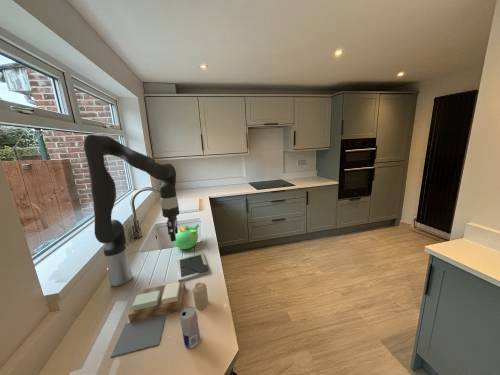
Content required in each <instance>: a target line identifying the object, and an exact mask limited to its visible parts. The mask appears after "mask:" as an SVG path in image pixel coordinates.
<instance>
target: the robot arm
mask: <svg viewBox="0 0 500 375" xmlns="http://www.w3.org/2000/svg"><path fill="white" fill-rule="evenodd" d="M82 142H83V143H82V145H83V146H82V147H83V151H84V155H85V160H86V162H87V168H88V171H89V172H88V174H89V179H90V188H91V197H92V201H93V203H92V204H93V213H94V215H93V216H94V237H95V238H96V240H97V241H98V242H99V243H101V244H104V245H105V246H104V248H103V254H104V258H105V262H106V265H107V266H106V267H107V268H106V274H107V278H108V281H109V282H108V283H109V286H112V287H121V286H123V285H126V284H127V283H129V282H130V281H131V280H132V279H133V273H132V268H131V265H130V260H129V256H128V253H127V249H126V248H127V247H126V243H127V242H126V241H127V238H126V233H125V228H124V226H123V224H122V222H121V221H119V220H117V219H112V213H113V209H114V207H115V203H116V199H117V191H116V190H117V188H116V183H115V180H114V179H113V177H112V176H111V174H110V173H109V172H108V169H107V168H106V164H105V158H104V156H107V155H108V156H113V157H117V158H120V159H122V160H123V161H125V162H126V163H127V164H128V165H129V166H131V167H132V168H133V167H134V168H135V169H138V170H140V171H142V172H145V173H146V174H148V175H149V176H151V177H152V178H154V179H156V180H158V181H161V182H162V183H161V185H160V186H159V189H158V190H159V197H160V206H161V212H162V217H164V218H167V221H166V227H167V232H168V233H167V234H168V236H169V239H170V242H174V241H176V236H175V234H177V233H178V230H179V228H178V216H179V214H180V206H179V201H178V197H177V191H176V185H177V184H176V182H177V172H176V169H175V167H174V165H173V164H171V163H164V164H163V163H162V164H161V163H158V162H156V160H155V159H154V158H152V157H150V156H148V155H146V154H143V153H140V152H138V151H135V150H133V149H131V148H130V147H128V146H126V145H124V144H122V143H120V142H119V141H117V140H116V139H114V138H112V137H111V136H109V135H105V134H98V133H97V134H91V133H90V134H87V135H85V137H84V138H83V141H82Z"/></svg>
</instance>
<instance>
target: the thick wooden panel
mask: <svg viewBox="0 0 500 375" xmlns="http://www.w3.org/2000/svg"><path fill="white" fill-rule="evenodd" d="M166 285H167V284H164V285H159V286H153V287H149V288H145V289H140V290H138V292H137V294H136V297H137V295H140V294H145V293H150V292H154V291H159V290H160V298H159V302H158V305H157V306H153V307H149V308H144V309H140V310H135V311H133V307H132V306H131V308H130V310H129V311H128V314H127V316H128V320H129V323H130V322H134V321H138V320H142V319H147V318H151V317H155V316H160V315H164V314H166V316H167V315H171V314H176V313H181V311H182V310H183V309H184V304H185V303H184V301H185V295H186V290H187V288H186V281H182V282H180V291H179V297H178V301H176V302H171V303H167V304H162V296H163V293H164V289H165V286H166ZM136 297H135V298H136Z"/></svg>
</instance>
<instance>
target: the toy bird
mask: <svg viewBox="0 0 500 375" xmlns="http://www.w3.org/2000/svg"><path fill="white" fill-rule="evenodd" d="M199 227H200V225H199V224H197V223H196V225H194V226H193V227H192V226H179V228H178V233H177V234H175V236H176V241H173V243H174V245H175V246H176V247H177V248H178V249H180V250H189V249H191V248H193V247H195V246H196V244H197V242H198V241H199V240H198V239H199V233H198V228H199Z"/></svg>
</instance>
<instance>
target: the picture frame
mask: <svg viewBox="0 0 500 375" xmlns="http://www.w3.org/2000/svg"><path fill="white" fill-rule="evenodd" d="M176 268H177V269H176V270H177V272H176V273H177V282H182V281H185V282H186V281H188V280H192V279H196V278H198V277H201V276H206V275H208V274H210V270H209V266H208V264H207V261H206V258H205V254H204V252H201V253H197V254H193V255H189V256H186V257H182V258H177V259H176Z"/></svg>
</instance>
